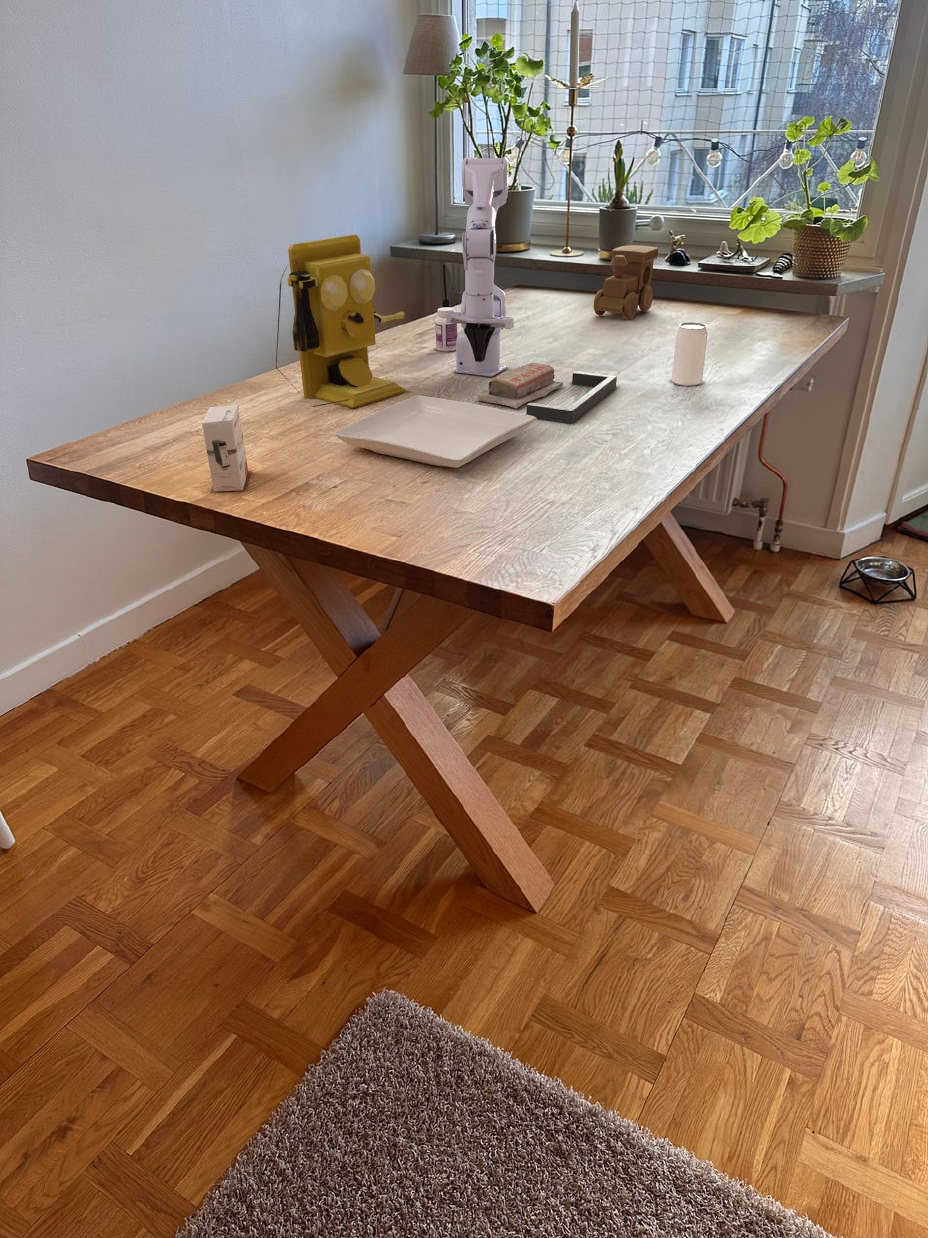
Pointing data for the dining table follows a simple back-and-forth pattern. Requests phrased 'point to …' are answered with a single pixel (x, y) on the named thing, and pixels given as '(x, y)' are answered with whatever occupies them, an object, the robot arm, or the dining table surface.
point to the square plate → (434, 430)
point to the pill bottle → (445, 331)
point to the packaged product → (520, 385)
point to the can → (689, 354)
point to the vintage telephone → (335, 321)
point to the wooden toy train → (628, 282)
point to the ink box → (225, 448)
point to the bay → (576, 410)
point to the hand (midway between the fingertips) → (479, 360)
